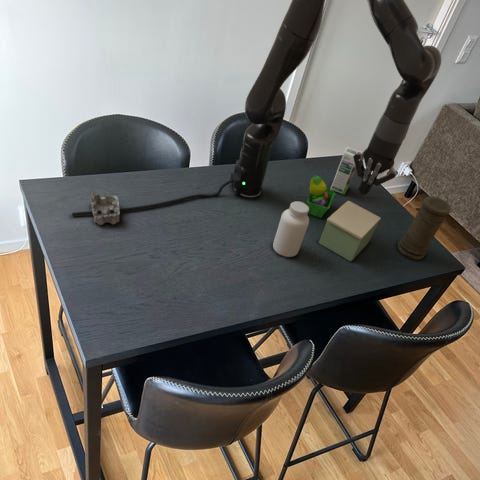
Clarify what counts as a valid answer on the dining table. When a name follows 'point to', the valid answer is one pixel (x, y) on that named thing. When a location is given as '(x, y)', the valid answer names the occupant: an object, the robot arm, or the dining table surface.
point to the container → (424, 227)
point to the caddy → (344, 241)
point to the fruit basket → (319, 197)
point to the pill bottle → (291, 229)
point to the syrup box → (345, 171)
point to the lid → (354, 219)
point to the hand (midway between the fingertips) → (362, 193)
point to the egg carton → (105, 209)
